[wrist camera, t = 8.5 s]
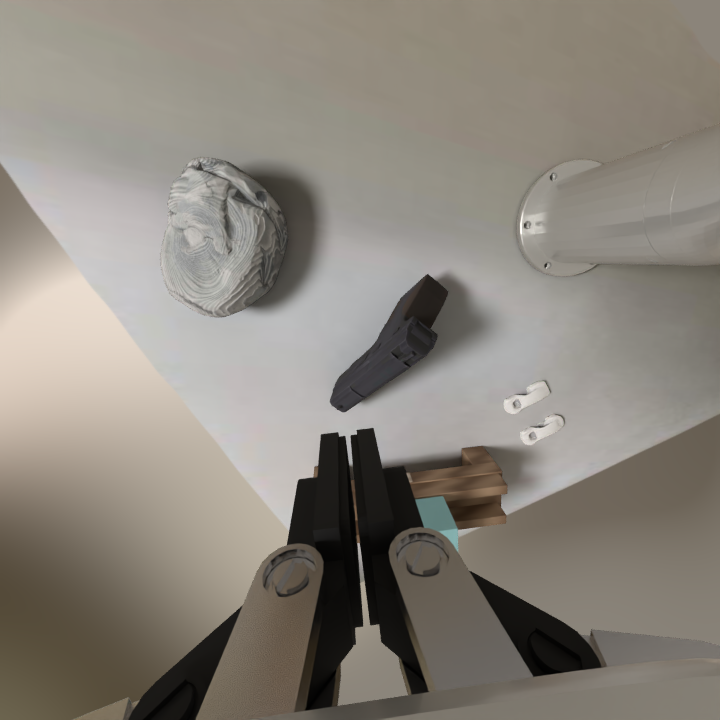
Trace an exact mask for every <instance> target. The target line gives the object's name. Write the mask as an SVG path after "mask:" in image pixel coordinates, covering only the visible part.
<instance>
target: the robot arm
mask: <svg viewBox="0 0 720 720" xmlns="http://www.w3.org/2000/svg"><path fill="white" fill-rule="evenodd" d="M550 178H551V179H550ZM524 224H525V227H524ZM517 239H518V243H519V246H520V250H521V252H522V253H523V255H524V257H525V259H526V260H527V261H528V262H529V263H530V265H531V266H533V267H534V268H535V269H537V270H538V271H540V272H542V273H545V274H548V275H552V276H563V277H565V276H574V275H577V274H580V273H583V272H585V271H587V270H589V269H591V268H593V267H594V266H596V265H597V264H649V265H698V266H703V265H717V264H720V123H719V124H716V125H713V126H710V127H707V128H705V129H702V130H699V131H696V132H693V133H691V134H688V135H685V136H682V137H679V138H676V139H674V140H671V141H668V142H665V143H662V144H659V145H657V146H654V147H651V148H648V149H645V150H642V151H640V152H637V153H634V154H631V155H628V156H626V157H623V158H620V159H617V160H614V161H611V162H609V163H606V164H601V163H599V162H597V161H593V160H589V159H577V160H572V161H567V162H565V163H562V164H560V165H557V166H556V167H554V168H552V169H550V170H548V171H547V172H546V173H544V174H543V175H542V176H541V177H539V178H538V179H537V181H536V182H535V183H534V184H533V185H532V186H531V188H530V189H529V191H528V192H527V194H526V195H525V197H524V200H523V202H522V204H521V206H520V210H519V214H518V218H517ZM544 265H545V267H544ZM351 447H352V459H353V472H354V484H355V497H356V509H357V520H358V530H359V539H360V547H361V555H362V563H363V571H364V579H365V586H366V595H367V602H368V611H369V619H370V625H376V624H379V626H380V634H381V642H382V643H383V644H384V645H385V646H387V647H388V648H389V649H390V650H391V651H392V652H394V653H395V654H396V655H397V656H398V657H399V663H400V669H401V672H402V676H403V679H404V683H405V686H406V690H407V693H408V695H407V696H401V697H394V698H387V699H381V700H374V701H367V702H361V703H355V704H348V705H341V706H338V698H339V689H340V681H341V662H342V660H343V659H344V658H345V656H346V655H347V654H348V653H349V651H350V650H351V649H352V647H353V645H355V644H356V639H355V628H356V627H363V615H362V601H361V588H360V574H359V560H358V547H357V533H356V520H355V509H354V501H353V493H352V485H351V477H350V469H349V461H348V453H347V445H346V438H345V436H341V437H339V434H338V432H337V433H328V434H321V441H320V452H319V464H318V475H317V477H313V478H306V479H299V480H298V484H297V489H296V495H295V501H294V507H293V513H292V518H291V524H290V530H289V536H288V542H287V546H284V547H281V548H279V549H277V550H276V551H274V552H273V553H271V554H270V555H269V556H268V557H267V558H266V559H265V560H264V561H263V562H262V564H261V565H260V567H259V569H258V571H257V573H256V575H255V578H254V580H253V582H252V585H251V587H250V590H249V592H248V594H247V597H246V599H245V602H244V604H243V605H242V606H241V607H240V608H239V609H238V610H237V611H236V612H235V613H234V614H233V615H231V616H230V617H229V618H228V619H227V620H226V621H224V622H223V623H222V624H221V625H220V626H219V627H218V628H216V629H215V630H214V631H213V632H212V633H211V634H210V635H209V636H208V637H206V638H205V639H204V640H203V641H202V642H201V643H199V645H197V646H196V647H195V648H194V649H193V650H192V651H190V652H189V653H188V654H187V655H186V656H185V657H184V658H183V659H181V660H180V661H179V662H178V663H177V664H176V665H175V666H173V667H172V668H171V669H170V670H169V671H168V672H167V673H166V674H165V675H163V676H162V677H161V678H160V679H159V680H158V681H156V682H155V684H154V685H153V686H152V687H151V688H150V689H149V690H148V691H147V692H146V693H145V694H144V695H143V696H142V698H141V699H140V700H139V701H137V702H134V703H131V701H130V699H129V698H126V699H124V700H121V701H119V702H116V703H113V704H111V705H108V706H106V707H103V708H101V709H98V710H96V711H93V712H91V713H88V714H86V715H83V716H80V717H78V718H76V719H73V720H720V646H719V645H716V644H712V643H708V642H704V641H699V640H689V639H680V638H670V637H659V636H650V635H641V634H630V633H621V632H611V631H601V630H592V629H591V633H590V636H588V635H580V634H579V633H578V632H577V631H575V630H574V629H572V628H571V627H569V626H568V625H566V624H565V623H564V622H562V621H560V620H558V619H557V618H555V617H552V616H551V615H549V614H547V613H546V612H544V611H542V610H540V609H538V608H536V607H534V606H533V605H531V604H529V603H527V602H526V601H524V600H522V599H520V598H518V597H516V596H515V595H513V594H511V593H509V592H507V591H506V590H504V589H502V588H500V587H498V586H497V585H494V584H492V583H491V582H489V581H487V580H485V579H484V578H482V577H480V576H478V575H477V574H475V573H473V572H471V571H469V570H468V568H467V567H466V565H465V564H464V562H463V560H462V558H461V557H460V555H459V553H458V552H457V550H456V548H455V547H454V545H453V544H452V543H451V541H450V540H449V539H448V538H447V537H446V536H444V535H443V534H441V533H440V532H438V531H436V530H433V529H430V528H424V525H423V522H422V519H421V516H420V513H419V510H418V507H417V504H416V501H415V498H414V495H413V492H412V489H411V485H410V482H409V479H408V476H407V473H406V470H405V468H404V466H400V467H392V468H384V469H382V465H381V460H380V456H379V451H378V447H377V442H376V438H375V433H374V429H373V428H369V429H361V430H357V435H351Z"/></svg>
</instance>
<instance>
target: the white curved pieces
mask: <svg viewBox="0 0 720 720" xmlns="http://www.w3.org/2000/svg"><path fill="white" fill-rule="evenodd" d="M526 389H527V393H528V395H525V396H523V394H522V395H513V396H510V397H509V398H508V399H507V398H506V399H505V400H504V409H505V410H506V412H507V413H509V414H517V413H518V412H519V411H521V410H522V409H524V408H526V407H528V406H530V405H532V404H534V403H536V402H538V401H540V400H541V399H544V398H545V397H546V396H547V395H549V394H550V391H549V389H548V387H547V385H546V383H545V381H537V382H535V383H533V384H531V385H530V386H529V387H527V388H526ZM516 399H518V400H519V401H520V403H521V406H520V405H519V404H518V403H517V404H518V405H519V406H514V404H513V402H514V401H515V400H516ZM516 402H517V401H516ZM541 423H543V426H544V427H543V428H539V427H535V428H533V427H529V428H526V429H525V430H522V431H521V433H520V436H521V439H522V441H523V443H524V444H526V445H533V444H534V443H536V442H537V441H538V440H540V439H543V438H545V437H547V436H550V435H552V434H554V433H556V432H557V431H559V430H560V429H561V428H562V427H563V425H564V421H563V419H562V417H560V416H558V415H555V414H551V416H548V417H546V418H545V421H543V422H540V423H538V424H541ZM536 425H537V424H536ZM533 431H534V432H535V434H536V436H537V438H536V436H535V437H530V435H529V434H530V433H531V432H533Z"/></svg>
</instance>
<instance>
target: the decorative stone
mask: <svg viewBox="0 0 720 720" xmlns="http://www.w3.org/2000/svg"><path fill="white" fill-rule="evenodd" d="M168 209H169V210H170V211H169V212H168V227H167V229H166V231H165V235H164V239H163V243H162V249H161V258H160V260H161V270H162V274H163V278H164V282H165V284H166V287H167V289H168V291H169V293H170V294H171V296H173V297H174V298H175V299H176V300H178V301H180V302H181V303H183V304H185V305H186V306H187V307H189V308H190V309H192V310H194V311H196V312H198V313H200V314H202V315H206V316H211V317H226V316H229V315H231V314H234V313H237V312H239V311H242V310H243V309H245V308H247V307H248V306H249V305H251V304H252V303H254V302H255V301H256V300H257V299H259V298H260V297H261V296H263V295H265V294H266V293H268V292H269V290H270V289H271V288H272V286H273V285H274V283H275V281H276V279H277V276H278V271H279V268H280V266H281V263H282V260H283V257H284V254H285V250H286V246H287V242H288V229H287V224H286V220H285V217H284V214H283V212H282V210H281V209H280V207H279V205H278V204H277V202H276V201H275V200H274V198H273V197H272V196H271V195H270V194H269V193H268V192H267V191H266V190H265V189H264V188H263V187H262V186H261V185H260V184H259V183H258V182H256V181H255V180H254V179H252V178H251V177H250V176H248V175H247V174H246V173H244V172H243V171H241V170H240V169H239V168H237V167H236V166H234V165H233V164H231V163H229V162H226V161H223V160H219V159H214V158H207V157H199V158H196V159H192V160H191V161H190V163H189V164H187V165H186V167H184V168H182V175H181V176H180V177H178V178H177V179H175V180H174V182H173V185H172V187H171V190H170V195H169V202H168Z"/></svg>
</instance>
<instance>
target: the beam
mask: <svg viewBox="0 0 720 720" xmlns="http://www.w3.org/2000/svg"><path fill="white" fill-rule="evenodd" d="M317 475H318V466H317V467H315V468H314V477H317ZM407 476H408V479H409V482H410V485H411V489H412V492H413V495H414V498H415V500H416V499H424V498H431V497H439V496H443V497H444V499H445V502H446V504H447V506H448V508H449V510H450V513H451V515H452V517H453V519H454V521H455V524H456V526H457V528H458V530H460V529H467V528H475V527H482V526H490V525H497V524H505V523H506V514H505V513H504V511H503V510H502V508H501V494H507V484H506V483H505V481H504V480H503V479H502V470H501V469H500V468H499V467H498V465H497V464H496V463H495V461H494V460H493V459H492V458H491V456H490V455H489V454H488V453H487V451H486V450H485V449H484V447H483V446H478V447H470V448H462V466H460V467H452V468H444V469H436V470H428V471H420V472H412V473H409V472H408V473H407ZM351 485H352V493H353V501H354V509H355V520H356V533H357V543H360V539H359V530H358V520H357V509H356V497H355V484H354V480H351Z"/></svg>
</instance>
